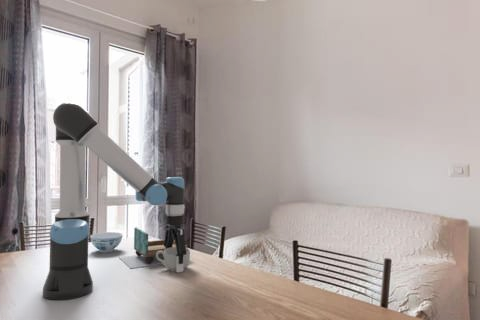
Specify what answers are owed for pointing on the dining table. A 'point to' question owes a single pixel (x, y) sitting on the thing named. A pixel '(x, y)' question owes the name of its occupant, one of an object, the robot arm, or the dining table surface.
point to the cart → (147, 245)
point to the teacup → (173, 258)
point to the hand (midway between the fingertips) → (174, 268)
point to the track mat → (140, 261)
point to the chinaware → (106, 241)
